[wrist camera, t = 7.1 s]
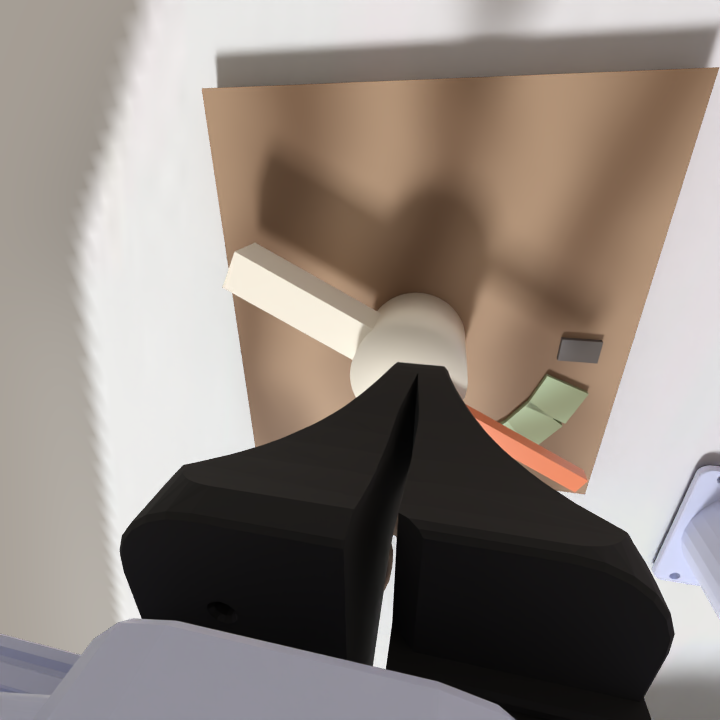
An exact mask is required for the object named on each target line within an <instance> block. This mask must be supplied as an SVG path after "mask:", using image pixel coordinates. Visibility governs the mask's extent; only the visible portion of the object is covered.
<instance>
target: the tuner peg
mask: <svg viewBox="0 0 720 720" xmlns="http://www.w3.org/2000/svg"><path fill="white" fill-rule="evenodd" d="M222 288H224V289H226V290H228V291H230V292H231V293H233V294H235V295H237V296H239V297H240V298H242V299H244V300H246V301H248V302H249V303H251V304H253V305H255V306H257V307H258V308H260V309H262V310H264V311H265V312H267V313H269V314H271V315H273V316H274V317H276V318H278V319H280V320H282V321H283V322H285V323H287V324H289V325H291V326H292V327H294V328H296V329H298V330H300V331H301V332H303V333H305V334H307V335H309V336H310V337H312V338H314V339H316V340H318V341H319V342H321V343H323V344H325V345H327V346H328V347H330V348H332V349H334V350H336V351H337V352H339V353H341V354H343V355H345V356H346V357H348V358H350V359H352V363H351V368H350V381H351V386H352V390H353V392H354V395H355V397H358V396H359V395H360V394H362V393H363V392H364V391H365V390H366V389H368V388H369V387H370V386H371V385H372V384H373V383H375V382H376V381H377V380H378V379H379V378H380V377H381V376H382V375H383V374H384V373H385V372H387V371H388V370H389V369H390V368H391V367H392V366H393V365H394V364H395V363H397V362H403V363H414V364H425V365H436V366H445V368H446V369H447V370H448V372H449V375H450V378H451V380H452V382H453V384H454V386H455V388H456V390H457V391H458V393H459V395H460V396H461V398H462V400H464V398H465V395H466V391H467V385H468V375H467V358H466V341H465V331H464V327H463V323H462V321H461V319H460V317H459V315H458V314H457V312H456V311H455V310H454V309H453V308H452V307H451V306H450V305H449V304H448V303H446V302H445V301H443V300H442V299H440V298H438V297H435V296H433V295H430V294H425V293H407V294H402V295H399V296H396V297H394V298H392V299H390V300H389V301H387V302H386V303H385V304H384V305H382V306H381V307H380V308H379V310H378V311H375V310H374V309H372V308H370V307H368V306H367V305H365V304H363V303H361V302H359V301H358V300H356V299H354V298H352V297H351V296H349V295H347V294H345V293H343V292H342V291H340V290H338V289H336V288H335V287H333V286H331V285H329V284H328V283H326V282H324V281H322V280H320V279H319V278H317V277H315V276H313V275H312V274H310V273H308V272H306V271H304V270H303V269H301V268H299V267H297V266H296V265H294V264H292V263H290V262H289V261H287V260H285V259H283V258H281V257H280V256H278V255H276V254H274V253H273V252H271V251H269V250H267V249H265V248H264V247H262V246H260V245H258V244H257V243H253V244H251V245H248V246H246V247H244V248H242V249H239V250H237V251H235V252H234V255H233V258H232V261H231V264H230V267H229V270H228V272H227V275H226V278H225V281H224V284H223V287H222ZM466 406H467V407H468V409H469V410H470V412H471V413H472V415H473V416H474V417H475V419H476V420H477V421H478V422H479V424H480V425H481V426H482V428H483V429H484V430H485V431H486V432H487V433H488V435H489V436H490V437H491V438H492V439H493V440H494V441H495V442H496V443H497V444H498V445H499V446H500V447H501V448H502V449H503V450H504V451H505V452H507V453H508V454H509V455H510V456H511V457H512V458H514V459H515V460H517V461H519V462H521V463H523V464H524V465H526V466H528V467H530V468H532V469H533V470H535V471H537V472H539V473H541V474H542V475H544V476H546V477H548V478H550V479H551V480H553V481H555V482H557V483H559V484H560V485H562V486H564V487H566V488H568V489H569V490H571V491H573V492H576V491H577V490H578V489H580V488H581V487H582V486H583V485H584V484H585V483H587V482H588V479H587V477H586V475H585V472H584V470H583V469H581V468H579V467H577V466H576V465H574V464H572V463H570V462H568V461H567V460H565V459H563V458H561V457H559V456H558V455H556V454H554V453H552V452H550V451H549V450H547V449H545V448H543V447H542V446H540V445H538V444H536V443H534V442H533V441H531V440H529V439H527V438H525V437H524V436H522V435H520V434H518V433H516V432H515V431H513V430H511V429H509V428H508V427H506V426H504V425H502V424H500V423H499V422H497V421H495V420H493V419H491V418H490V417H488V416H486V415H484V414H482V413H481V412H479V411H477V410H475V409H474V408H472V407H470V406H468V405H466Z"/></svg>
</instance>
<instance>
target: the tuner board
mask: <svg viewBox="0 0 720 720" xmlns="http://www.w3.org/2000/svg"><path fill="white" fill-rule="evenodd" d="M718 70H719V67H716V68H692V69H667V70H643V71H618V72H594V73H570V74H545V75H521V76H496V77H472V78H447V79H423V80H398V81H374V82H350V83H325V84H301V85H276V86H252V87H227V88H203V89H202V94H203V100H204V107H205V114H206V120H207V127H208V134H209V140H210V147H211V154H212V160H213V167H214V174H215V180H216V187H217V194H218V200H219V207H220V214H221V220H222V227H223V234H224V240H225V247H226V254H227V260H228V267H230V264H231V261H232V258H233V255H234V252H235V251H237V250H239V249H242V248H244V247H246V246H248V245H251V244H253V243H257V244H258V245H260V246H262V247H264V248H265V249H267V250H269V251H271V252H273V253H274V254H276V255H278V256H280V257H281V258H283V259H285V260H287V261H289V262H290V263H292V264H294V265H296V266H297V267H299V268H301V269H303V270H304V271H306V272H308V273H310V274H312V275H313V276H315V277H317V278H319V279H320V280H322V281H324V282H326V283H328V284H329V285H331V286H333V287H335V288H336V289H338V290H340V291H342V292H343V293H345V294H347V295H349V296H351V297H352V298H354V299H356V300H358V301H359V302H361V303H363V304H365V305H367V306H368V307H370V308H372V309H374V310H375V311H378V310H379V308H380V307H381V306H382V305H384V304H385V303H386V302H387V301H389V300H390V299H392V298H394V297H396V296H399V295H402V294H407V293H425V294H430V295H433V296H435V297H438V298H440V299H442V300H443V301H445V302H446V303H448V304H449V305H450V306H451V307H452V308H453V309H454V310H455V311H456V312H457V314H458V315H459V317H460V319H461V321H462V323H463V327H464V331H465V341H466V358H467V375H468V385H467V391H466V395H465V398H464V400H463V401H464V403H465V404H466V405H468V406H470V407H472V408H474V409H475V410H477V411H479V412H481V413H482V414H484V415H486V416H488V417H490V418H491V419H493V420H495V421H497V422H499V423H500V424H502V425H504V426H506V427H508V428H509V429H511V430H513V431H515V432H516V433H518V434H520V435H522V436H524V437H525V438H527V439H529V440H531V441H533V442H534V443H536V444H538V445H540V446H542V447H543V448H545V449H547V450H549V451H550V452H552V453H554V454H556V455H558V456H559V457H561V458H563V459H565V460H567V461H568V462H570V463H572V464H574V465H576V466H577V467H579V468H581V469H583V470H584V472H585V475H586V477H587V479H588V482H589V479H590V476H591V473H592V470H593V467H594V463H595V460H596V457H597V454H598V451H599V448H600V444H601V441H602V438H603V435H604V432H605V428H606V425H607V422H608V419H609V416H610V413H611V409H612V406H613V403H614V400H615V397H616V394H617V390H618V387H619V384H620V381H621V378H622V374H623V371H624V368H625V365H626V362H627V359H628V355H629V352H630V349H631V346H632V343H633V340H634V336H635V333H636V330H637V327H638V324H639V321H640V317H641V314H642V311H643V308H644V305H645V301H646V298H647V295H648V292H649V289H650V286H651V282H652V279H653V276H654V273H655V270H656V267H657V263H658V260H659V257H660V254H661V251H662V247H663V244H664V241H665V238H666V235H667V232H668V228H669V225H670V222H671V219H672V216H673V213H674V209H675V206H676V203H677V200H678V197H679V194H680V190H681V187H682V184H683V181H684V178H685V174H686V171H687V168H688V165H689V162H690V159H691V155H692V152H693V149H694V146H695V143H696V140H697V136H698V133H699V130H700V127H701V124H702V121H703V117H704V114H705V111H706V108H707V105H708V101H709V98H710V95H711V92H712V89H713V86H714V82H715V79H716V76H717V73H718ZM232 294H233V293H232ZM233 301H234V307H235V314H236V321H237V327H238V334H239V341H240V347H241V354H242V361H243V367H244V374H245V381H246V387H247V394H248V401H249V407H250V414H251V421H252V427H253V434H254V441H255V447H258V446H261V445H264V444H267V443H270V442H272V441H275V440H278V439H281V438H283V437H286V436H288V435H290V434H292V433H295V432H297V431H299V430H301V429H304V428H306V427H308V426H311V425H313V424H315V423H317V422H318V421H320V420H322V419H324V418H326V417H328V416H329V415H331V414H333V413H334V412H336V411H338V410H339V409H341V408H342V407H344V406H345V405H347V404H348V403H350V402H351V401H352V400H354V399H355V398H356V397H355V395H354V392H353V390H352V386H351V381H350V368H351V363H352V359H350V358H348V357H346V356H345V355H343V354H341V353H339V352H337V351H336V350H334V349H332V348H330V347H328V346H327V345H325V344H323V343H321V342H319V341H318V340H316V339H314V338H312V337H310V336H309V335H307V334H305V333H303V332H301V331H300V330H298V329H296V328H294V327H292V326H291V325H289V324H287V323H285V322H283V321H282V320H280V319H278V318H276V317H274V316H273V315H271V314H269V313H267V312H265V311H264V310H262V309H260V308H258V307H257V306H255V305H253V304H251V303H249V302H248V301H246V300H244V299H242V298H240V297H239V296H237V295H235V294H233ZM513 459H514V458H513ZM516 461H517V460H516ZM517 462H518V463H519V464H521V465H522V466H523V467H524V468H526V469H527V470H528V471H529V472H530V473H532V474H533V475H535V476H536V477H537V478H539V479H540V480H541V481H543V482H544V483H545V484H547V485H548V486H550V487H551V488H553V489H554V490H556V491H564V492H571V493H579V494H585V492H586V489H587V486H588V482H587V483H585V484H584V485H583V486H582V487H581V488H580V489H578V490H577V491H576V492H573V491H571V490H569V489H568V488H566V487H564V486H562V485H560V484H559V483H557V482H555V481H553V480H551V479H550V478H548V477H546V476H544V475H542V474H541V473H539V472H537V471H535V470H533V469H532V468H530V467H528V466H526V465H524V464H523V463H521V462H519V461H517Z"/></svg>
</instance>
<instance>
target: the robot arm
mask: <svg viewBox="0 0 720 720" xmlns="http://www.w3.org/2000/svg"><path fill="white" fill-rule="evenodd" d="M718 477H720V466H712V465H709V466H703V467H701V468H699V469H698V470H697V472H696V473H695V476H694V478H693V480H692V482H691V484H690V487H689V489H688V491H687V493H686V495H685V497H684V500H683V502H682V504H681V506H680V508H679V510H678V513H677V515H676V517H675V519H674V521H673V523H672V526H671V528H670V530H669V532H668V534H667V536H666V539H665V541H664V543H663V545H662V547H661V549H660V552H659V554H658V556H657V558H656V560H655V562H654V565H653V567H652V571H653V573H654V575H655V577H657V578H658V579H661V580H667V581H673V582H679V583H685V584H691V585H697V586H701V588H702V590H703V592H704V593H705V595H706V597H707V599H708V600H709V602H710V604H711V606H712V607H713V609H714V611H715V613H716V614H717V616H718V618H719V620H720V478H718ZM397 516H398V526H397V545H396V564H395V583H394V601H393V620H392V629H391V636H390V644H389V651H388V658H387V665H386V669H382V668H378V667H373V661H374V654H375V647H376V640H377V633H378V626H379V619H380V612H381V605H382V599H383V592H384V585H385V579H386V572H387V565H388V559H389V552H390V546H391V542H392V537H393V532H394V528H395V524H396V520H397ZM120 556H121V561H122V565H123V570H124V573H125V576H126V579H127V581H128V584H129V586H130V589H131V592H132V594H133V597H134V599H135V602H136V605H137V607H138V610H139V613H140V615H141V618H142V619H130V620H126V621H122V622H118V623H116V624H115V625H113V626H112V627H110V628H109V629H108V630H106V631H104V632H103V633H102V634H100V635H98V636H97V637H95V638H94V639H93V640H92V641H91V643H90V644H89V645H88V647H87V648H86V649H85V651H84V652H83V653H82V654H81V655H80V654H77V653H73V652H69V651H65V650H61V649H57V648H53V647H50V646H46V645H42V644H39V643H35V642H31V641H27V640H23V639H20V638H15V637H12V636H8V635H4V634H0V720H651V717H650V714H649V711H648V709H647V706H646V703H645V700H644V696H645V694H646V692H647V691H648V689H649V687H650V685H651V684H652V682H653V680H654V678H655V677H656V675H657V673H658V671H659V669H660V668H661V666H662V664H663V662H664V661H665V659H666V657H667V655H668V654H669V651H670V648H671V644H672V641H673V638H674V629H673V623H672V618H671V613H670V611H669V609H668V607H667V605H666V603H665V601H664V598H663V596H662V594H661V592H660V590H659V588H658V585H657V583H656V581H655V580H654V578H653V576H652V574H651V572H650V570H649V568H648V566H647V564H646V563H645V561H644V559H643V558H642V556H641V555H640V553H639V551H638V550H637V548H636V546H635V545H634V543H633V541H632V540H631V538H630V536H629V534H628V533H627V532H625V531H624V530H622V529H620V528H618V527H616V526H615V525H613V524H611V523H609V522H608V521H606V520H604V519H602V518H600V517H599V516H597V515H595V514H593V513H592V512H590V511H588V510H586V509H585V508H583V507H581V506H579V505H577V504H576V503H574V502H573V501H571V500H569V499H568V498H566V497H565V496H563V495H562V494H560V493H559V492H557V491H556V490H554V489H553V488H551V487H550V486H548V485H547V484H545V483H544V482H543V481H541V480H540V479H539V478H537V477H536V476H535V475H533V474H532V473H530V472H529V471H528V470H527V469H526V468H524V467H523V466H522V465H521V464H519V463H518V462H517V461H516V460H515V459H513V458H512V457H511V456H510V455H509V454H508V453H507V452H505V451H504V450H503V449H502V448H501V447H500V446H499V445H498V444H497V443H496V442H495V441H494V440H493V439H492V438H491V437H490V436H489V435H488V433H487V432H486V431H485V430H484V429H483V428H482V426H481V425H480V424H479V422H478V421H477V420H476V419H475V417H474V416H473V415H472V413H471V412H470V410H469V409H468V407H467V406H466V404H465V403H464V401H463V400H462V398H461V396H460V395H459V393H458V391H457V390H456V388H455V386H454V384H453V382H452V380H451V378H450V375H449V372H448V370H447V369H446V368H445V366H436V365H425V364H414V363H403V362H397V363H395V364H394V365H393V366H392V367H391V368H390V369H389V370H388V371H387V372H385V373H384V374H383V375H382V376H381V377H380V378H379V379H378V380H377V381H376V382H375V383H373V384H372V385H371V386H370V387H369V388H368V389H366V390H365V391H364V392H363V393H362V394H360V395H359V396H358V397H356V398H355V399H354V400H352V401H351V402H350V403H348V404H347V405H345V406H344V407H342V408H341V409H339V410H338V411H336V412H334V413H333V414H331V415H329V416H328V417H326V418H324V419H322V420H320V421H318V422H317V423H315V424H313V425H311V426H308V427H306V428H304V429H301V430H299V431H297V432H295V433H292V434H290V435H288V436H286V437H283V438H281V439H278V440H275V441H272V442H270V443H267V444H264V445H261V446H258V447H255V448H251V449H248V450H245V451H242V452H238V453H234V454H231V455H226V456H222V457H218V458H213V459H209V460H205V461H200V462H196V463H191V464H186V465H183V466H182V467H181V468H180V469H179V470H178V471H177V472H176V473H175V474H174V475H173V476H172V478H171V479H170V480H169V481H168V482H167V483H166V484H165V485H164V486H163V487H162V489H161V490H160V491H159V492H158V493H157V494H156V495H155V496H154V498H153V499H152V500H151V501H150V502H149V503H148V504H147V506H146V507H145V508H144V509H143V510H142V511H141V512H140V513H139V515H138V516H137V517H136V518H135V519H134V520H133V521H132V522H131V524H130V525H129V526H128V528H127V529H126V531H125V532H124V534H123V535H122V539H121V545H120Z"/></svg>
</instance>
